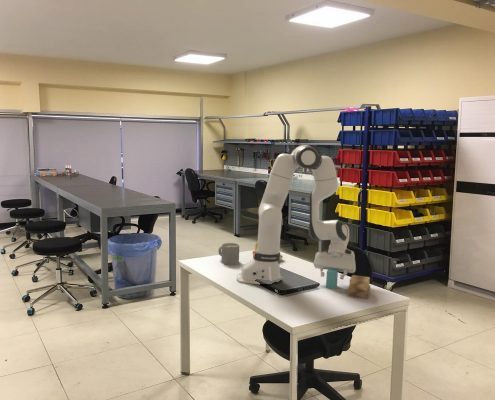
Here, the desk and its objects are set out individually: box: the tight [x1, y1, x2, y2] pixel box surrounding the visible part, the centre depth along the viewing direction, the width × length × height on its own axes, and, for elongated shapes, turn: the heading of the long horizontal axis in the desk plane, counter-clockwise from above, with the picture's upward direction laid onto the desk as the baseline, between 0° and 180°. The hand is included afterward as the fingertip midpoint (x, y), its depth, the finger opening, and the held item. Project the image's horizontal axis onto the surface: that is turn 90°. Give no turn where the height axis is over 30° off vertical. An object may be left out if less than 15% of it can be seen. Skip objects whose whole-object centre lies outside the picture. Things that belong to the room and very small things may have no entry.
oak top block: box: [348, 274, 371, 291], centre depth 211 cm, size 8×8×4 cm
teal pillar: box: [325, 269, 339, 289], centre depth 221 cm, size 4×4×8 cm
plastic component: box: [254, 242, 283, 261], centre depth 272 cm, size 20×7×10 cm
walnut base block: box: [346, 284, 371, 300], centre depth 211 cm, size 9×9×4 cm
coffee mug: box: [217, 242, 240, 265], centre depth 260 cm, size 13×10×10 cm
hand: (331, 277), depth 221 cm, fingers open, 8 cm apart
